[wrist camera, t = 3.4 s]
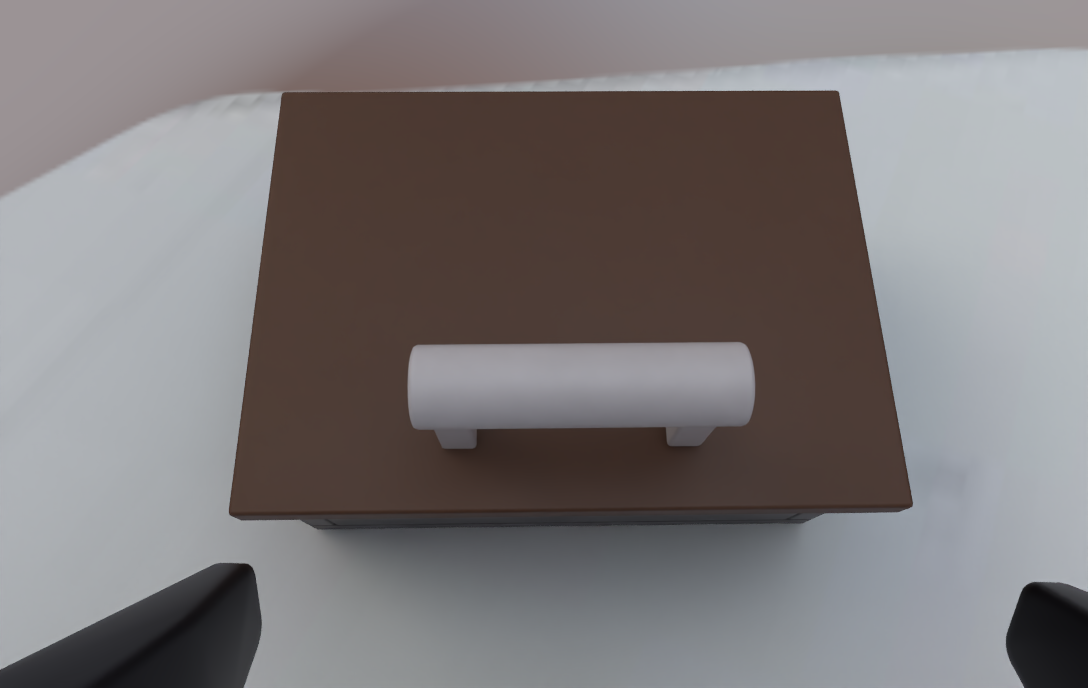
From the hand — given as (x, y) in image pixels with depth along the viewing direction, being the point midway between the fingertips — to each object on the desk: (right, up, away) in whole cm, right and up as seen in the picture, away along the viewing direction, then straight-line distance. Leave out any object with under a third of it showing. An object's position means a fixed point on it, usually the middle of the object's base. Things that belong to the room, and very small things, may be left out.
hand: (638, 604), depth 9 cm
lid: (-1, +4, +8) cm, 10 cm away
